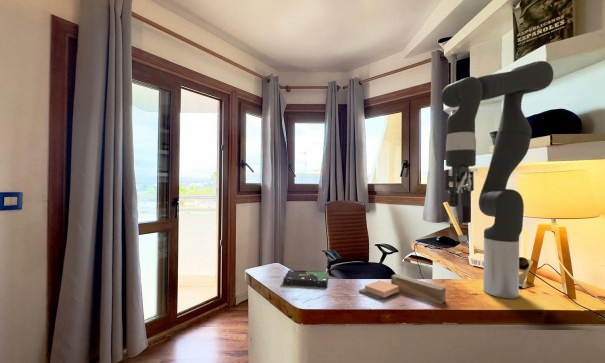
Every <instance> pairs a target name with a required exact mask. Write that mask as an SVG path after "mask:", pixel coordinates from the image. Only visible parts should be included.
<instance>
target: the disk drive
mask: <svg viewBox="0 0 605 363" xmlns="http://www.w3.org/2000/svg"><path fill="white" fill-rule="evenodd" d="M329 275H330V274H329V272H326V271H325V272H324V271H313V270H312V271H311V270H295V269H289V270H288V271H287V272H286V273H285V276H284V277H283V281H282V283H283V285H282V286H294V287H306V288H307V287H309V288H322V289H328V284H329V279H330V278H329ZM310 279H311V280H310ZM323 279H326V280H323Z"/></svg>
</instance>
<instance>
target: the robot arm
mask: <svg viewBox="0 0 605 363" xmlns="http://www.w3.org/2000/svg"><path fill="white" fill-rule="evenodd" d="M553 80H554V69H553V66H552V65H551V63H549V62H548V61H546V60H537V61H532V62H530V63H527V64H523V65H520V66H517V67H515V68H512V69H511V70H510V71H506V72H499V73H493V74H488V75H482V76H478V77H475V76H469V77H465V78H463V79H460V80H458V81H457V80H456V81H455V82H452V83H450V84H448V85H446V86H445V87H444V89H443V90H442V92H441V95H440V98H441V99H440V100H441V102H442V104H444V105H445V106H446V107H448V108H452V109H453V108H457V110H456V111H455V112H453V113H451V115H449V116H448V118H447V122H446V124H447V126H446V128H447V129H446V130H447V131H446V135H447V136H446V141H445V166H446V167H449V168H446V169H445V187H444V188H445V191H446V192H447V193H448V194H449V201H448V202H449V203H448V204H449V207H452V208H453V207H454V208H458V207H459V206H460V205H461V206H464V207H469V206H471V193H472V192H473V191H474V190H475V188H474V187H475V186H474V182H475V181H474V180H475V179H474V178H475V177H474V171H473V170H470V167H475V166H476V163H477V158H476V156H477V155H476V154H477V139H476V118H477V114H478V113H479V112H478V111H479V107H480V104H481V102H482V101H486V100H491V99H494V98H498V97H501V96H503V100H502V101H503V103H502V109H501V115H500V120H499V125H498V127H497V128H498V129H497V131H496V136H495V140H494V145H493V150H492V156H491V159H490V162H489V167H488V170H487V174H486V177H485V180H484V182H483V185H482V188H481V190H480V193H479V198H478V207H479V210H480V212H481V213H482V214H483V215H485V216H488V217H491V218H493V217H494V223H493V225H492V226H489V227H486V228H484V230H483V282H482V284H483V287H482V288H483V290H482V291H483V292H484V293H486V294H487V295H488V294H489V295H490V296H493V297H497V298H503V299H512V300H513V299H517V298H519V296H520V293H519V290H520V289H519V288H520V236H521V233H522V231H523V226H524V224H523V223H524V222H523V221H524V213H525V212H524V211H525V210H524V209H525V206H524V199H523V197H522V195H521V193H520V192H519V191H517V190H515V189H511V188H507V186H508V181H509V178H510V177H511V175H512V174H513V172H515V171H514V170H515V169H517V167H518V166H519V165H520V164H521V162H522V161H523V160H524V158H525V157H526V155H527V153H528V151H529V148H530V143H531V140H532V139H531V138H532V133H533V131H532V127H531V125H530V122H529V120H528V119H527V117H526V116H525V113H524V112H523V110H522V101H523V98H524V95H525V94H531V93H535V92H540V91H542V90H545V89H547V88H548V87H549V86H550V85H551V84H552V82H553ZM460 192H461V193H460ZM459 193H460V194H459ZM459 198H460V200H459ZM460 203H461V204H460ZM459 204H460V205H459Z"/></svg>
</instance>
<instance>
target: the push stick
mask: <svg viewBox="0 0 605 363" xmlns="http://www.w3.org/2000/svg"><path fill="white" fill-rule="evenodd" d="M390 278H391V281H390V282H391V283H390V284H393V285H397V286H399V292H402V293H406V294H409V295H411V296H415V297H417V298H421V299H424V300H427V301H431V302H433V303H436V304H440V305H442V304H443V303H445V302H446V287H444V286H440V285H437V284H433V283H430V282H426V281H423V280H418V279H416V278H412V277H409V276H405V275H401V274H393V275H391V276H390Z"/></svg>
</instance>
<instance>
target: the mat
mask: <svg viewBox="0 0 605 363" xmlns="http://www.w3.org/2000/svg"><path fill="white" fill-rule="evenodd" d="M358 292H359V293H360V294H363V295H366V296H369V297H371V298H373V299H376V300H379V301H380V300H381V299H384V297H381V296H378V295H376V294H373V293H370V292H367V291H365V287H364V288H361V289H359V290H358Z"/></svg>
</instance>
